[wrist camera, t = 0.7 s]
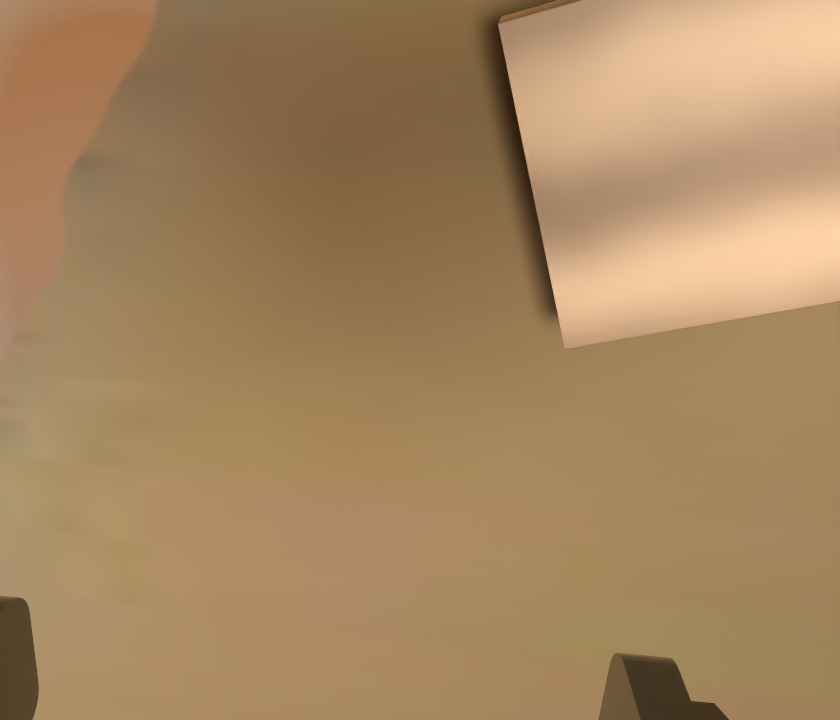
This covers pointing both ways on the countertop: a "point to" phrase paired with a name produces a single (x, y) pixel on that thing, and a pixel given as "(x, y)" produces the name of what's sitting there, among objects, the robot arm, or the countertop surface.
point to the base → (680, 157)
